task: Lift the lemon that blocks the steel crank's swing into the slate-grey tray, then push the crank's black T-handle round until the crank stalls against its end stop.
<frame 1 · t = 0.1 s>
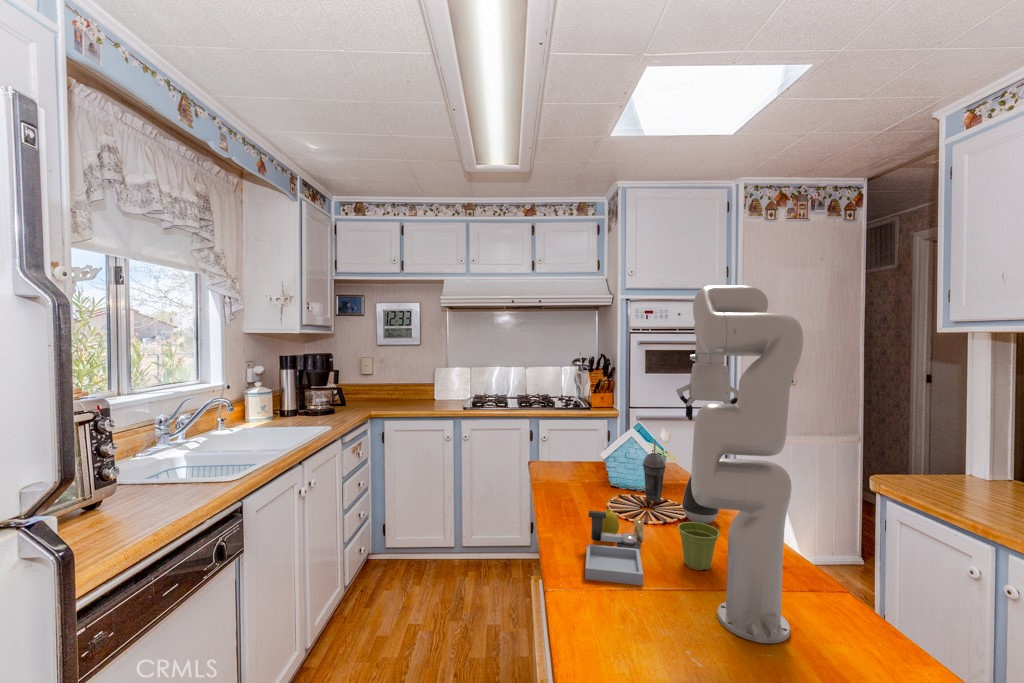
hand: (707, 420, 138), 31 cm above the worktop, tool pointing down, fingers open, 9 cm apart
crank base: (628, 550, 126), on the worktop
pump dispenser: (700, 521, 146), on the worktop
plant pot: (697, 565, 119), on the worktop
crank handle: (612, 526, 126), point 6 cm above the worktop, hinge at 90.0°
tray: (613, 568, 116), on the worktop
lemon: (608, 539, 132), on the worktop
beverage cup: (653, 500, 163), on the worktop
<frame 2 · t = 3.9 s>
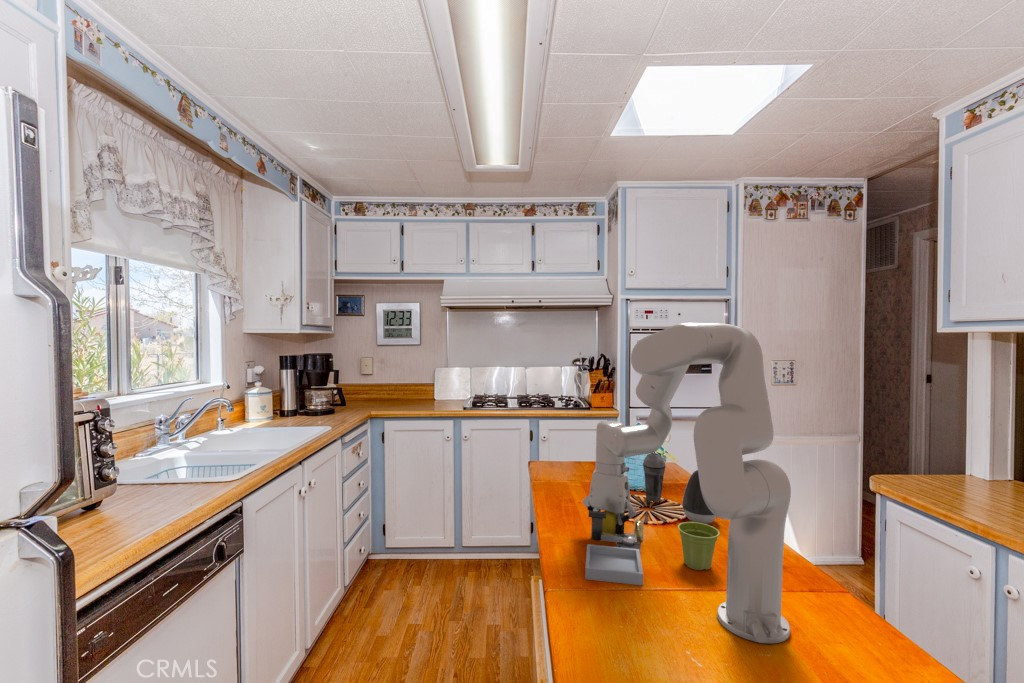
hand: (608, 534, 132), 1 cm above the worktop, tool pointing down, fingers closed on lemon, 5 cm apart
lemon: (608, 539, 132), on the worktop, touching gripper
everything else where it was.
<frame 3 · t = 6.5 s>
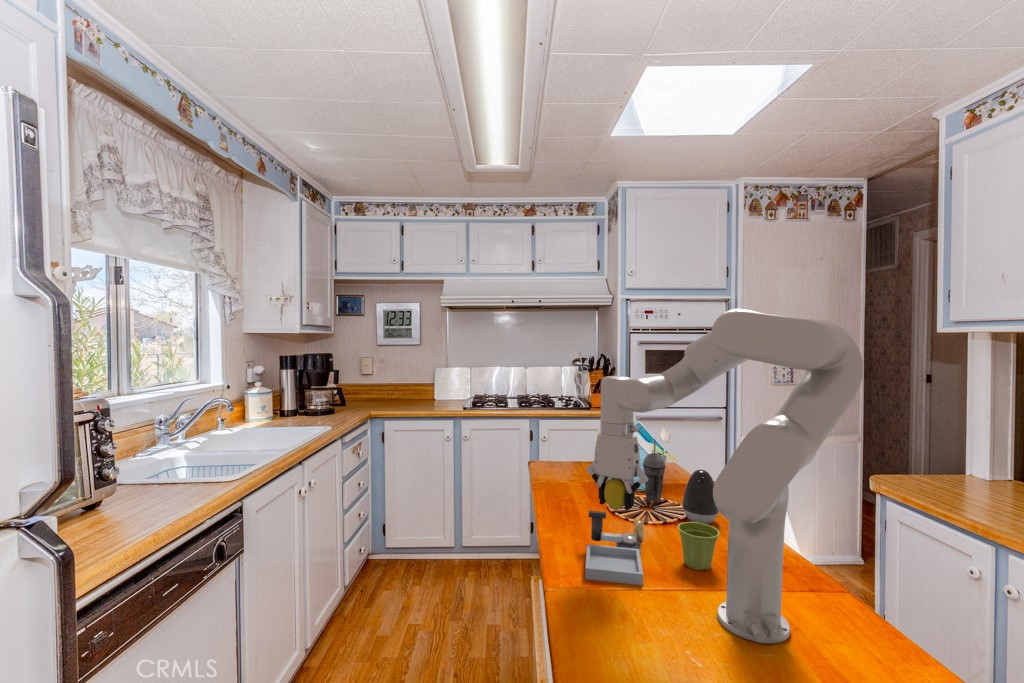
hand: (616, 504, 116), 15 cm above the worktop, tool pointing down, fingers closed on lemon, 5 cm apart
lemon: (616, 511, 116), point 14 cm above the worktop, touching gripper
everything else where it was.
when the fingers open (3 cm above the worktop, at t = 9.3 s): lemon drops 1 cm, resting on tray.
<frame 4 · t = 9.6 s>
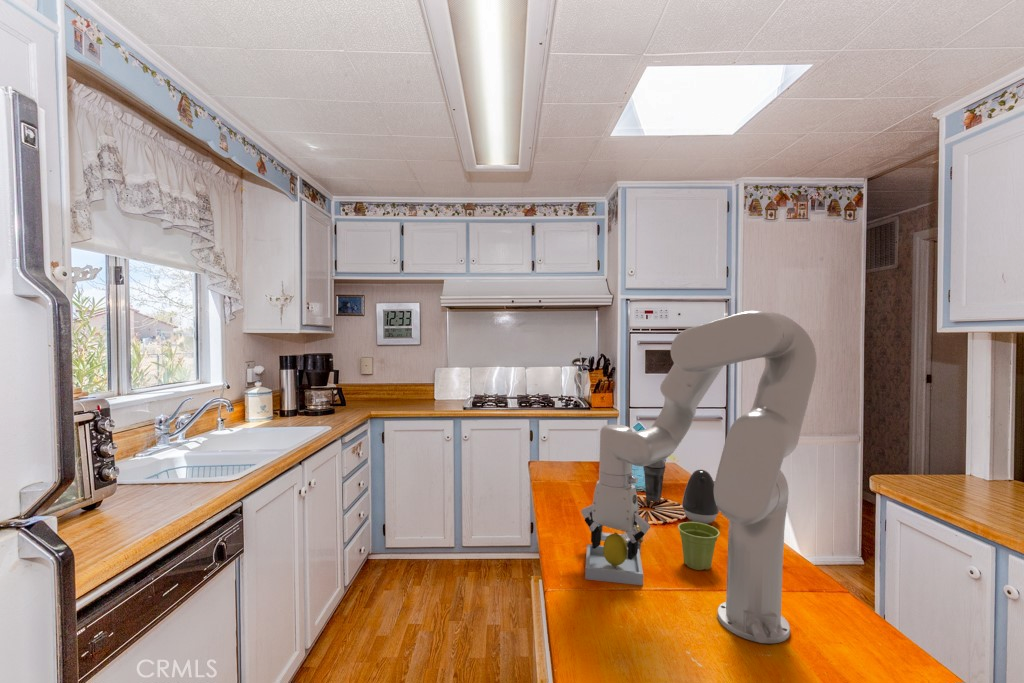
hand: (613, 551, 116), 4 cm above the worktop, tool pointing down, fingers open, 8 cm apart
lemon: (614, 567, 116), resting on tray
everything else where it was.
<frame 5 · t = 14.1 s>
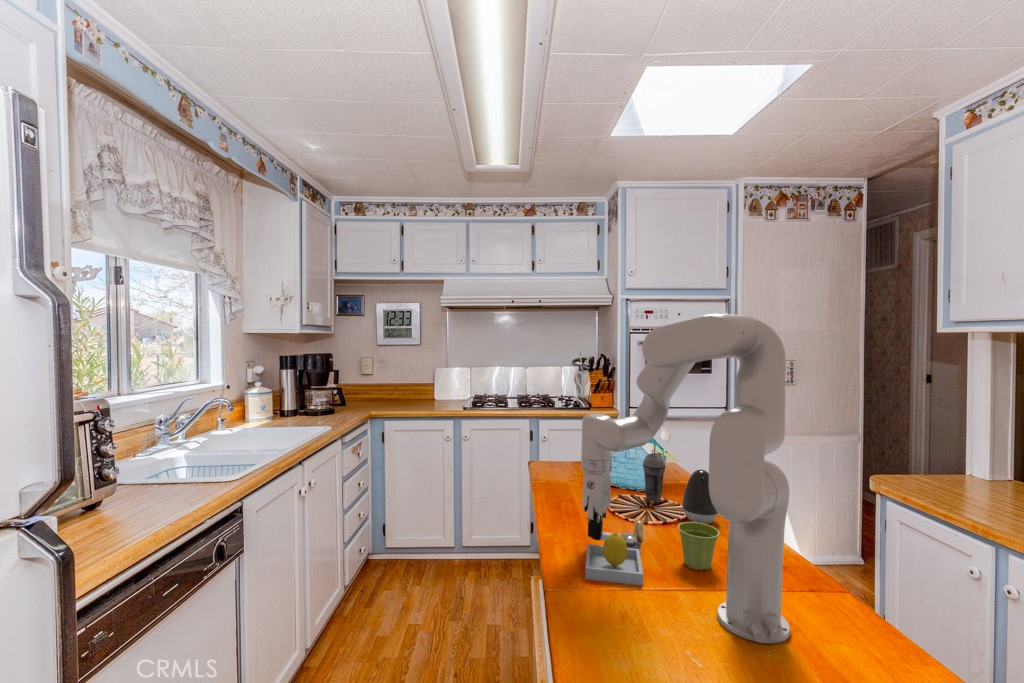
hand: (594, 536, 124), 4 cm above the worktop, tool pointing down, fingers closed
crank handle: (612, 526, 127), point 6 cm above the worktop, hinge at 86.0°, touching gripper
everything else where it was.
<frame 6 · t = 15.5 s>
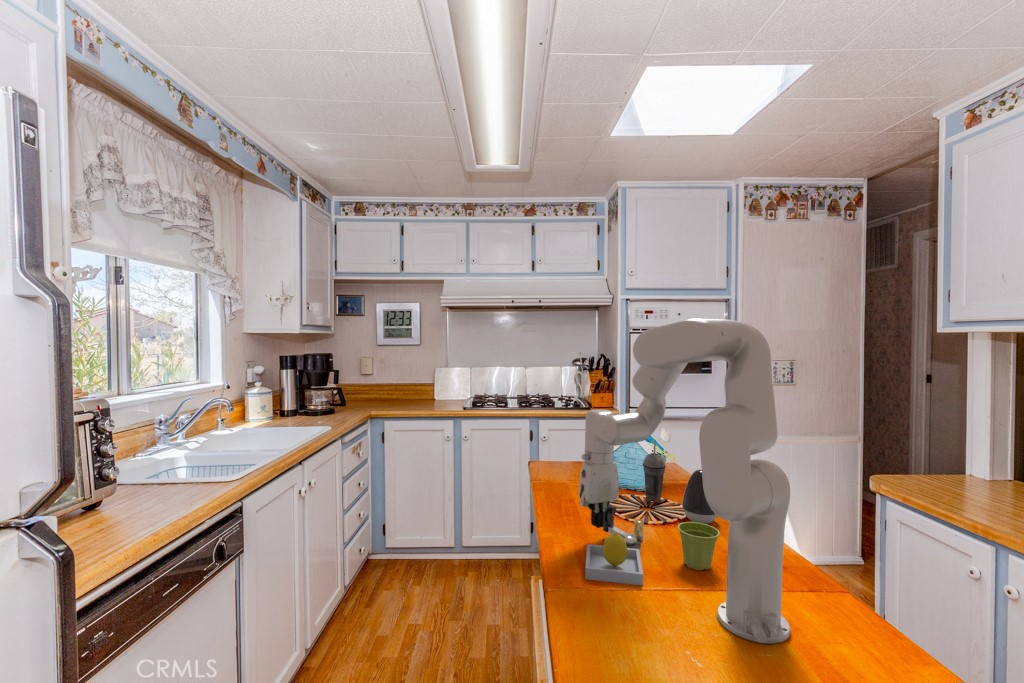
hand: (597, 525, 131), 4 cm above the worktop, tool pointing down, fingers closed
crank handle: (618, 522, 129), point 6 cm above the worktop, hinge at 38.8°, touching gripper
everything else where it was.
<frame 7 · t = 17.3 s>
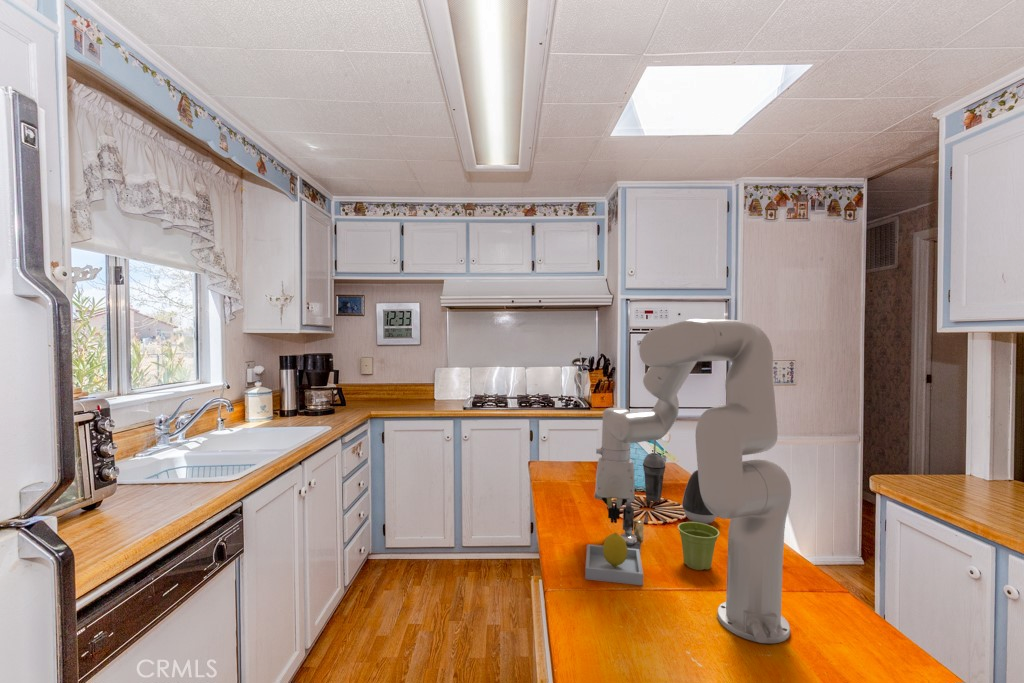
hand: (613, 520, 134), 4 cm above the worktop, tool pointing down, fingers closed
crank handle: (628, 522, 129), point 6 cm above the worktop, hinge at -1.9°, touching gripper
everything else where it was.
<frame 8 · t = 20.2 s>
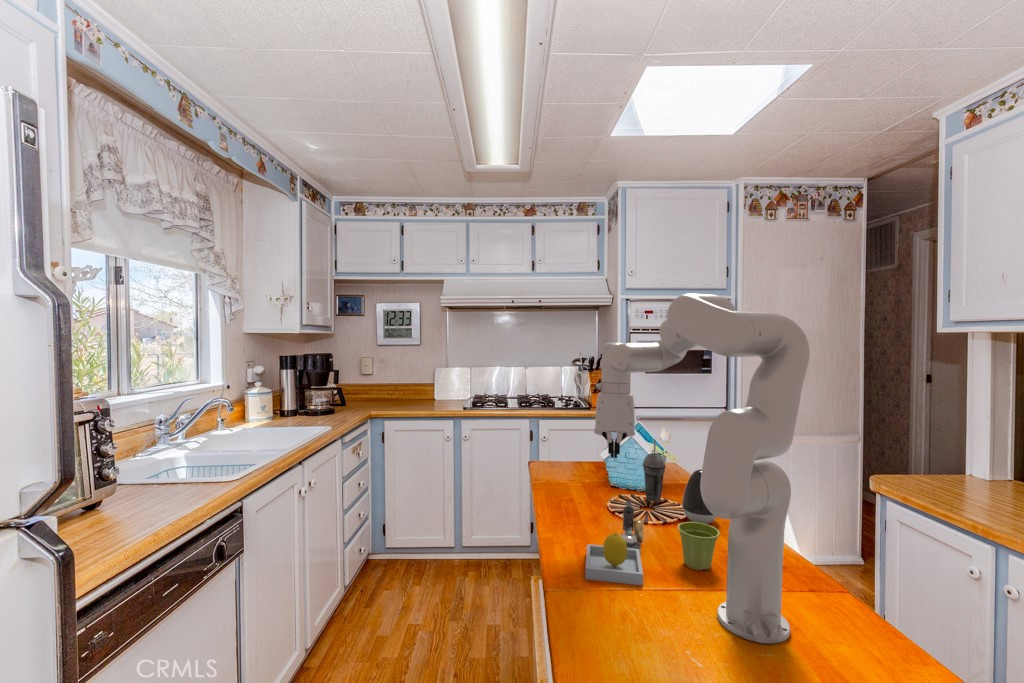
hand: (613, 456, 133), 22 cm above the worktop, tool pointing down, fingers closed
crank handle: (628, 522, 129), point 6 cm above the worktop, hinge at -2.0°
everything else where it was.
at the end: lemon inside the target area on the tray (0.4 cm from its centre), point 0.4 cm above the tray's base; crank handle at -2° (first picture: +90°); the gripper is holding nothing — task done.
